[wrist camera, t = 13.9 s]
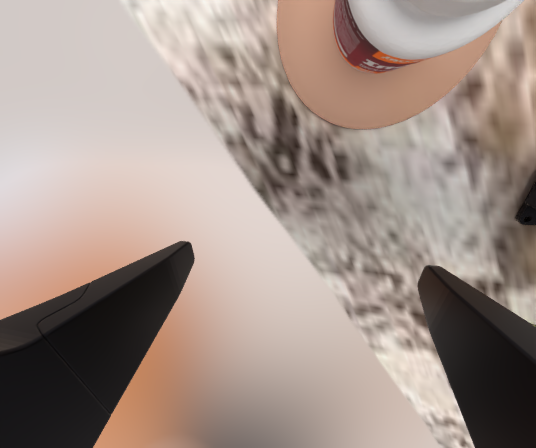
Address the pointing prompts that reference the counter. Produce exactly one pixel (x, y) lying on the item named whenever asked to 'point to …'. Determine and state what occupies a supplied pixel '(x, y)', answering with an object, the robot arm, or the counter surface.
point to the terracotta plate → (356, 82)
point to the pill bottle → (410, 29)
